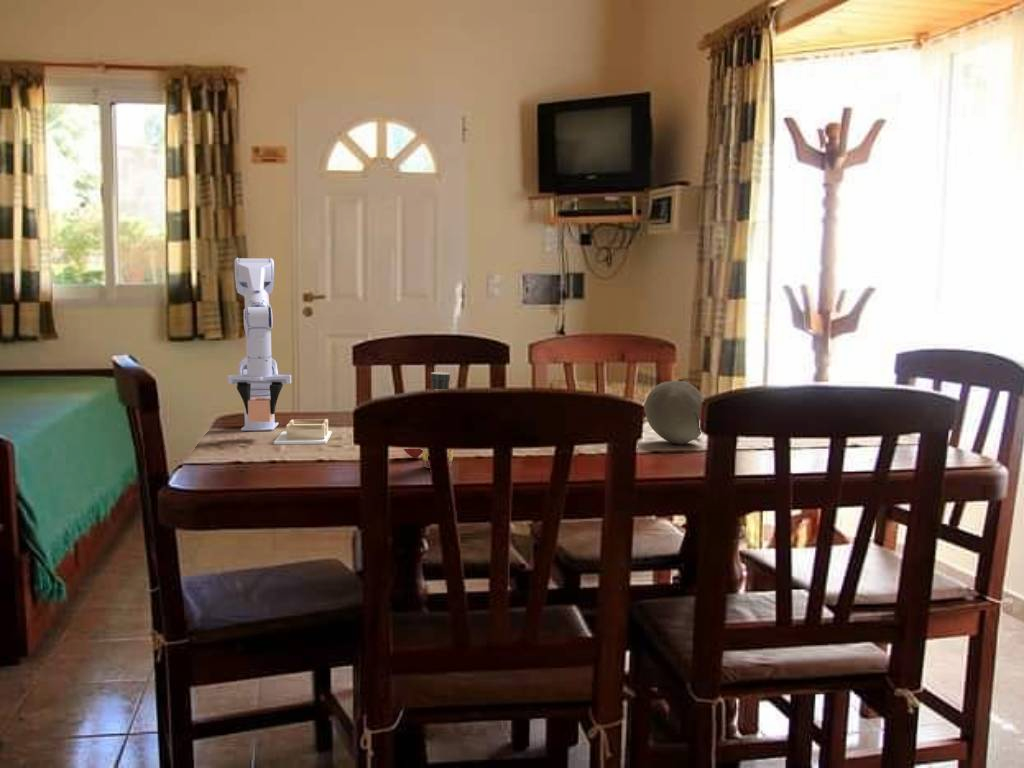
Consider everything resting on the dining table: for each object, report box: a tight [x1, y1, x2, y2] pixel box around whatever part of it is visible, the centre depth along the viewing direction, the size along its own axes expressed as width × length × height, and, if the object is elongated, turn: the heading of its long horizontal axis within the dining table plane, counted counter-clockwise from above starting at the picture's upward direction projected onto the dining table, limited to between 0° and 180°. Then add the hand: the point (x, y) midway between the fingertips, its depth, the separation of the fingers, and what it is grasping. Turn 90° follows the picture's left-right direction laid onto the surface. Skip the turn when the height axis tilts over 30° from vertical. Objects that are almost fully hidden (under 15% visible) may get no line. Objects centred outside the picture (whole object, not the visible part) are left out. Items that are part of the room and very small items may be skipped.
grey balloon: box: [644, 380, 705, 445], centre depth 226 cm, size 14×14×15 cm
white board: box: [273, 430, 333, 445], centre depth 231 cm, size 14×12×1 cm
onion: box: [403, 449, 423, 459], centre depth 208 cm, size 6×6×8 cm
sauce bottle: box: [422, 371, 454, 469], centre depth 198 cm, size 7×6×20 cm
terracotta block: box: [248, 398, 273, 422], centre depth 229 cm, size 5×5×5 cm
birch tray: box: [285, 418, 329, 440], centre depth 231 cm, size 9×9×3 cm
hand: (260, 413), depth 229 cm, fingers closed on terracotta block, 5 cm apart
